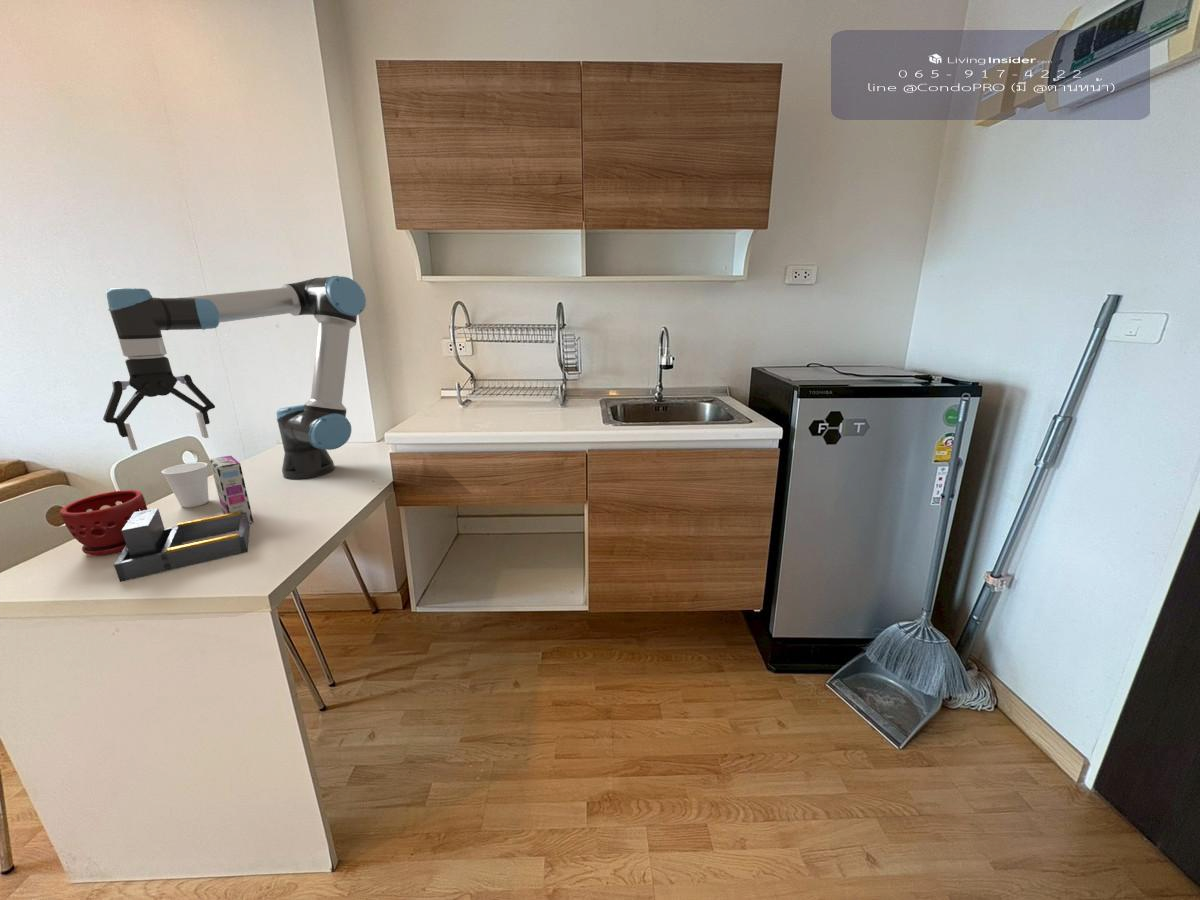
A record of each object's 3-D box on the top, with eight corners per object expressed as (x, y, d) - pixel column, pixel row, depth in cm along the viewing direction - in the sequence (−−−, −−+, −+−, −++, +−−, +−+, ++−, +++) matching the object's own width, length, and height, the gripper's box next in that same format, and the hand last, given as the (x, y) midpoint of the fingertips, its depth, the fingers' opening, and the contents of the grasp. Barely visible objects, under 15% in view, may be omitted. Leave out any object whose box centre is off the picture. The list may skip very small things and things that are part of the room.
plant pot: (91, 542, 111) (74, 496, 107) (163, 530, 117) (150, 485, 113) (65, 567, 100) (46, 516, 96) (146, 552, 106) (131, 504, 102)
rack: (249, 526, 118) (240, 490, 115) (247, 552, 105) (237, 511, 102) (137, 550, 107) (124, 510, 104) (119, 582, 94) (104, 537, 91)
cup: (191, 512, 127) (180, 474, 124) (162, 509, 129) (151, 472, 126) (226, 498, 136) (216, 463, 133) (198, 496, 138) (189, 461, 135)
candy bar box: (255, 522, 120) (241, 462, 116) (231, 529, 117) (215, 467, 112) (245, 511, 128) (231, 454, 123) (223, 516, 124) (207, 458, 119)
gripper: (207, 352, 121) (227, 430, 128) (66, 360, 103) (97, 452, 109) (216, 353, 117) (236, 434, 123) (70, 362, 98) (103, 457, 104)
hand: (171, 443), depth 116 cm, fingers open, 13 cm apart
